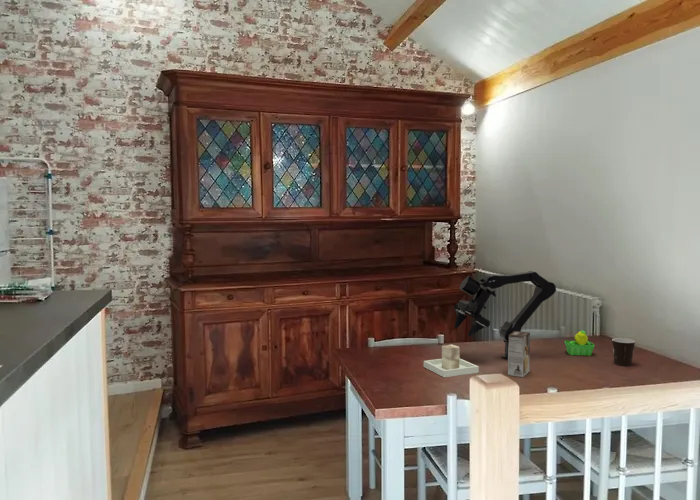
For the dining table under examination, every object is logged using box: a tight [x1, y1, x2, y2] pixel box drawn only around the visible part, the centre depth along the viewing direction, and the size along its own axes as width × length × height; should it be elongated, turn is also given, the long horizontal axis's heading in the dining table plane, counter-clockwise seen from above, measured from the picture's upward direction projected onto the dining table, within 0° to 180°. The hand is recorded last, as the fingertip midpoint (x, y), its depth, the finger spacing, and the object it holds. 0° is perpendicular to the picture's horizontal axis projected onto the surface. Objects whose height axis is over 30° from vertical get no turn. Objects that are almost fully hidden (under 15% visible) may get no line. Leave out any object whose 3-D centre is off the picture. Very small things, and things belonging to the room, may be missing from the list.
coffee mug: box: [611, 337, 636, 367], centre depth 230 cm, size 12×9×10 cm
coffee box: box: [507, 331, 531, 378], centre depth 218 cm, size 9×6×16 cm
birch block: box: [441, 344, 460, 370], centre depth 224 cm, size 5×5×9 cm
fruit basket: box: [564, 330, 595, 356], centre depth 247 cm, size 11×9×11 cm
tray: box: [423, 357, 480, 378], centre depth 225 cm, size 16×16×2 cm
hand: (461, 332), depth 238 cm, fingers open, 9 cm apart
